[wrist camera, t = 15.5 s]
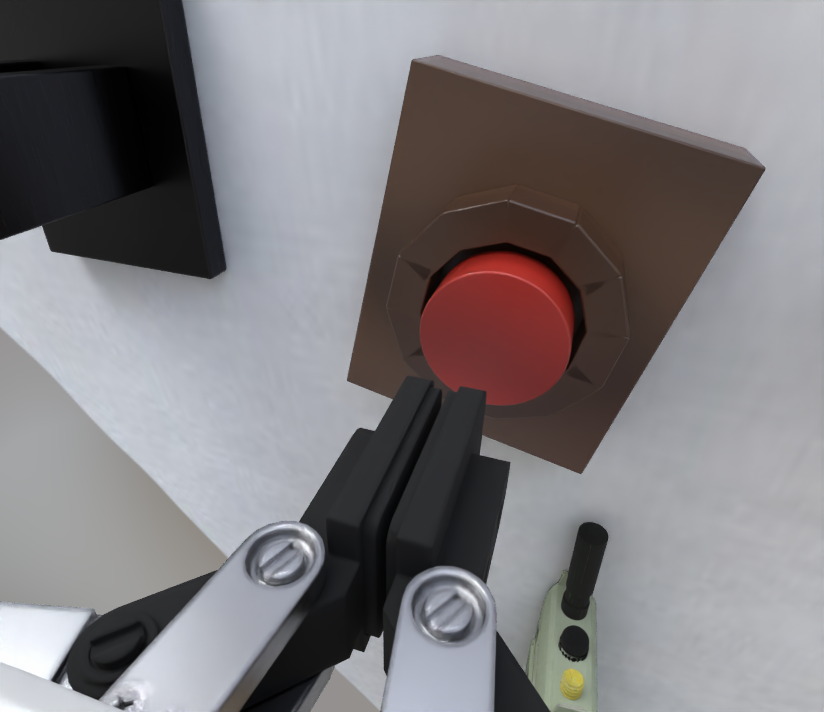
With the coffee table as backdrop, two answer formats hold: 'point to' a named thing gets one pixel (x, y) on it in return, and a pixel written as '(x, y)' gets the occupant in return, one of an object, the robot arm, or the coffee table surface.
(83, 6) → the switch bracket
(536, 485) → the coffee table surface
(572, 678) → the handheld radio
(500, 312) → the button
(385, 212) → the button box
